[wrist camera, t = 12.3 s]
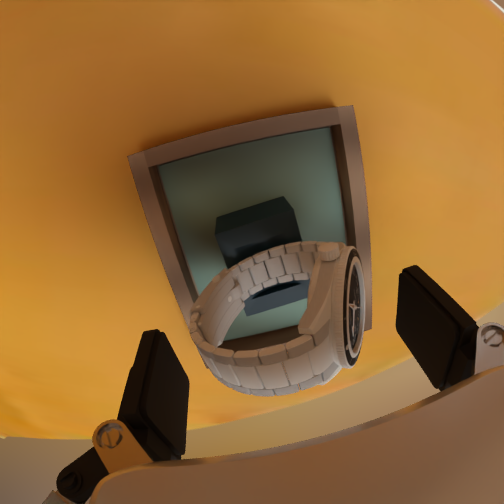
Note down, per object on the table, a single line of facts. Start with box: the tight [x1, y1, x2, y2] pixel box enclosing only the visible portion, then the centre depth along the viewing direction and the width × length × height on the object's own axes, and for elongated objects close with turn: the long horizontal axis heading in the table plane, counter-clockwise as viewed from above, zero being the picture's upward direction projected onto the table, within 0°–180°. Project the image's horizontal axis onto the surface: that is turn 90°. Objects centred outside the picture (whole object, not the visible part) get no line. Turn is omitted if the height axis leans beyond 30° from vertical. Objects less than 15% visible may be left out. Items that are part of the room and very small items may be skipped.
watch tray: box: [127, 105, 372, 369], centre depth 19 cm, size 16×13×3 cm
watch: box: [189, 196, 365, 396], centre depth 14 cm, size 6×8×11 cm
